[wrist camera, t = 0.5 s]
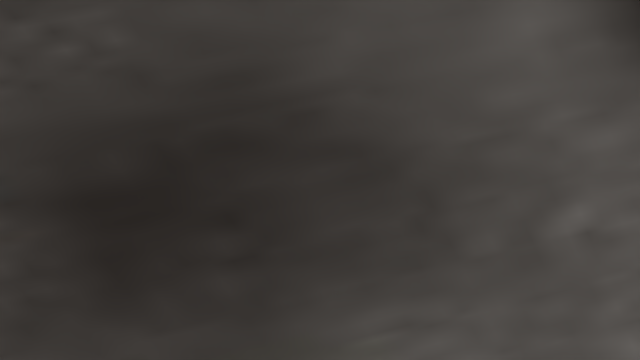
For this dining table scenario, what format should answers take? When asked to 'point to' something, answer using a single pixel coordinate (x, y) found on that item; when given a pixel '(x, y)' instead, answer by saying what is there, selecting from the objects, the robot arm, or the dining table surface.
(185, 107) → the dining table surface
